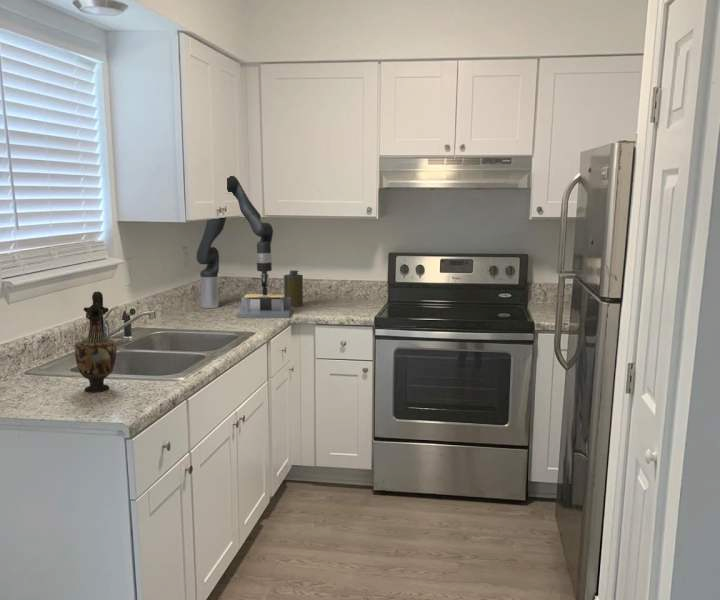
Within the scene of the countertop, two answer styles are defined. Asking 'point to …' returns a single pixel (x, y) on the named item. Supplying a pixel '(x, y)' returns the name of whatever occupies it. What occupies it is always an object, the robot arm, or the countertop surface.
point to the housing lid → (264, 295)
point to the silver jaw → (255, 304)
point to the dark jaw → (276, 304)
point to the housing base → (265, 308)
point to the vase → (96, 348)
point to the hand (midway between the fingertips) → (265, 295)
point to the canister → (294, 288)
